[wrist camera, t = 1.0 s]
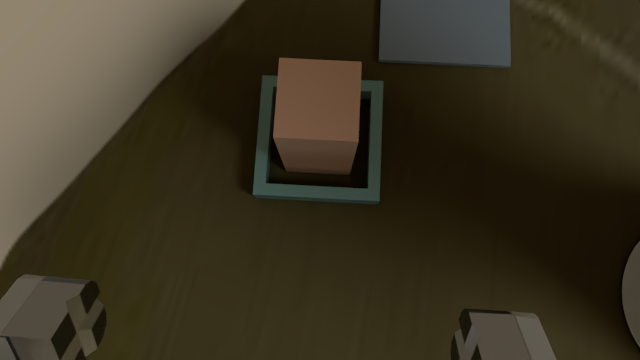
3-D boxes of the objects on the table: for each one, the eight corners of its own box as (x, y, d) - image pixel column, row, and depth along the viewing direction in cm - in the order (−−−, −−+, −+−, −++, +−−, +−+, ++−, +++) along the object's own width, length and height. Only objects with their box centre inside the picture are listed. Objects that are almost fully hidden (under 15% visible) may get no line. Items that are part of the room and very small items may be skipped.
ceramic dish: (380, 89, 43) (384, 76, 40) (377, 204, 41) (381, 199, 38) (265, 84, 43) (261, 70, 40) (256, 198, 41) (250, 192, 38)
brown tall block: (352, 114, 42) (361, 61, 32) (349, 175, 41) (358, 141, 31) (290, 111, 43) (279, 57, 32) (286, 171, 42) (273, 137, 31)
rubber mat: (506, -48, 45) (508, -52, 45) (508, 68, 43) (510, 65, 43) (382, -54, 46) (383, -57, 45) (378, 61, 43) (379, 59, 43)
